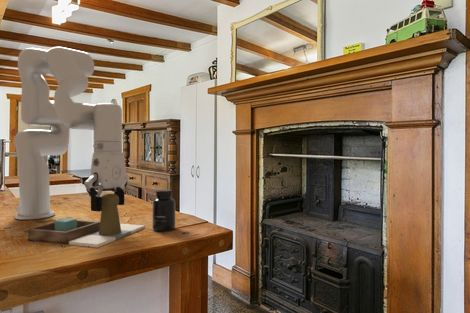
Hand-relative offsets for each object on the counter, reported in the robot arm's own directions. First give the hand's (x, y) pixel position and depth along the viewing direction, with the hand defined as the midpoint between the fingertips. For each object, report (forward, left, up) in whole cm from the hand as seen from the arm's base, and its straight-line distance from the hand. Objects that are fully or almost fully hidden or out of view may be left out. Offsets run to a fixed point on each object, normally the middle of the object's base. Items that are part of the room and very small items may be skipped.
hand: (108, 207), depth 97 cm
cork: (+1, 0, -7) cm, 7 cm away
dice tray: (-11, -4, -8) cm, 15 cm away
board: (+1, 0, -8) cm, 8 cm away
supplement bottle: (+12, +11, -8) cm, 18 cm away
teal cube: (-12, -4, -7) cm, 14 cm away
